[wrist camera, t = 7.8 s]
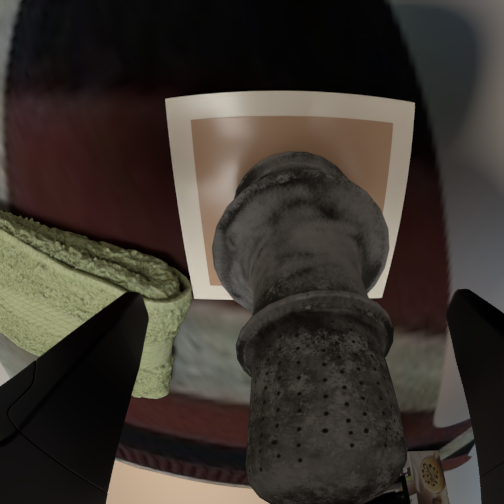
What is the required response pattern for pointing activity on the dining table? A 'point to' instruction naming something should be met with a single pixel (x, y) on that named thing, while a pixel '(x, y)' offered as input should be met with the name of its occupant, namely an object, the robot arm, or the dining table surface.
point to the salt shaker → (312, 332)
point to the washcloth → (85, 292)
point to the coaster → (275, 142)
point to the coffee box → (425, 478)
